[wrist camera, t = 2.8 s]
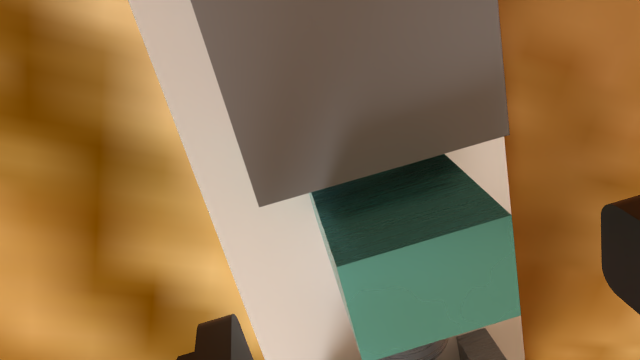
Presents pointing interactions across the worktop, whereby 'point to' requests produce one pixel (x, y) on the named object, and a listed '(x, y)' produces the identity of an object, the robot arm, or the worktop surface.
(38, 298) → the worktop surface
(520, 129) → the worktop surface
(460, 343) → the socket
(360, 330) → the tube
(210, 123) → the board
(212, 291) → the worktop surface
